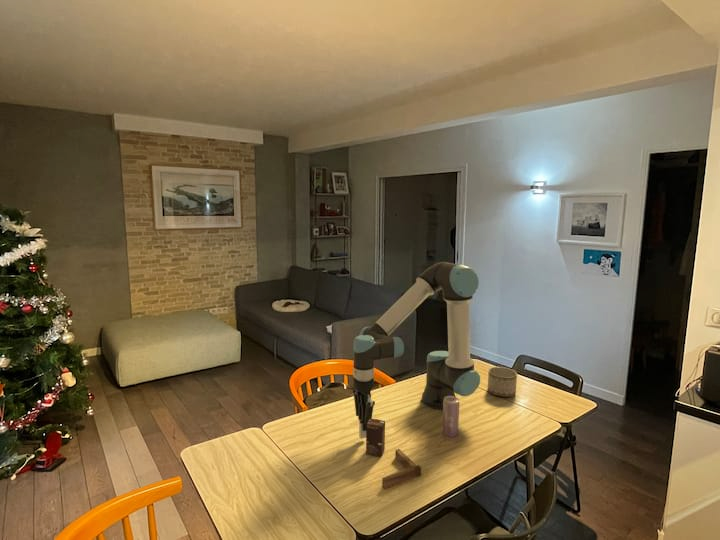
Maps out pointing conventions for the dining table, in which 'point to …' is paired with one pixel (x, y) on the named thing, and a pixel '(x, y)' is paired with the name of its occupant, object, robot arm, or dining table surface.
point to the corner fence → (405, 475)
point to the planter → (502, 381)
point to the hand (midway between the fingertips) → (363, 436)
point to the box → (375, 437)
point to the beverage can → (450, 417)
